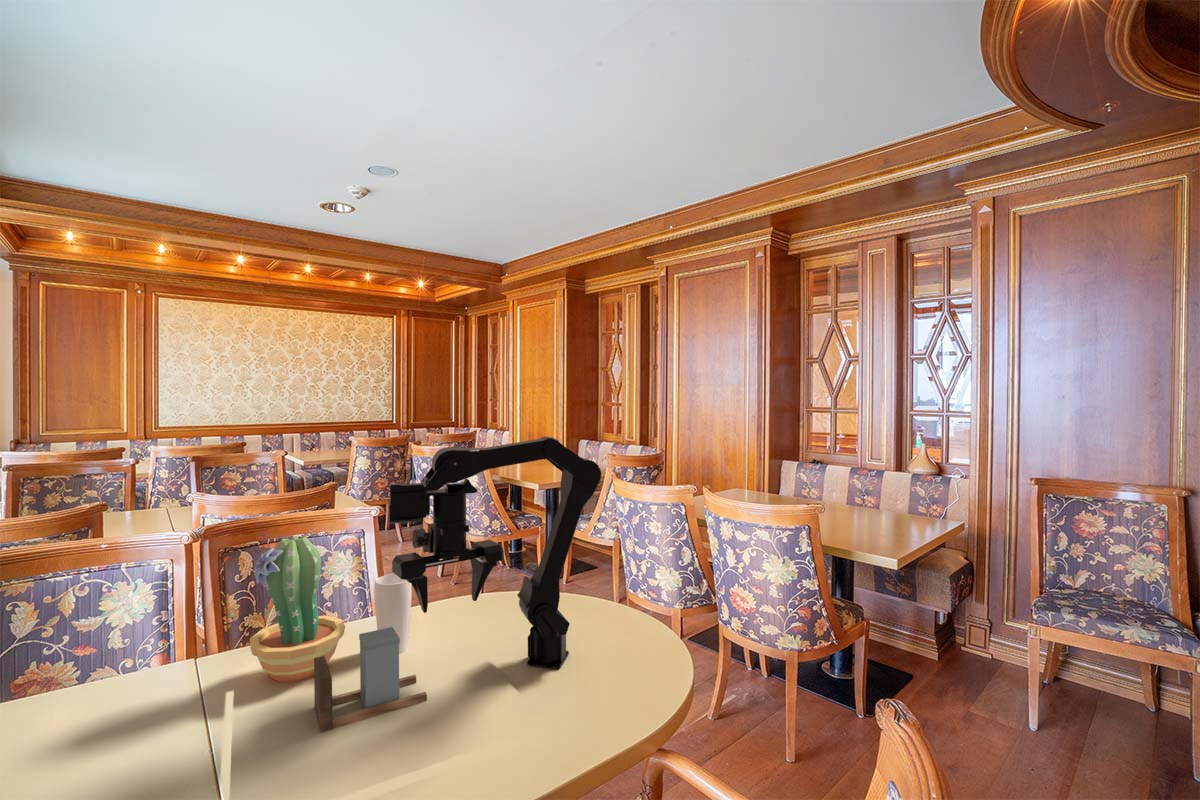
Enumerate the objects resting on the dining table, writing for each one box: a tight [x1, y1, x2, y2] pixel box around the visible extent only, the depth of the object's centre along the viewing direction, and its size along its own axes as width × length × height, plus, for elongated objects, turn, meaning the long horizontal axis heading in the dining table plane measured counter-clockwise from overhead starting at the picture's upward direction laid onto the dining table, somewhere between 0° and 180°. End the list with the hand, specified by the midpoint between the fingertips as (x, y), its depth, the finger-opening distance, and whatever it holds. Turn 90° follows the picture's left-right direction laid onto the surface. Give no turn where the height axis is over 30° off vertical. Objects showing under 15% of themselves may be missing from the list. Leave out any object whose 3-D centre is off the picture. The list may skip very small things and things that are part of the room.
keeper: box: [358, 627, 400, 709], centre depth 91 cm, size 5×5×11 cm
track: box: [313, 656, 428, 734], centre depth 90 cm, size 16×8×9 cm, turn 122°
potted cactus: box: [249, 535, 346, 683], centre depth 101 cm, size 15×15×25 cm
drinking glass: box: [374, 573, 413, 655], centre depth 109 cm, size 7×7×15 cm
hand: (450, 606), depth 100 cm, fingers open, 9 cm apart
